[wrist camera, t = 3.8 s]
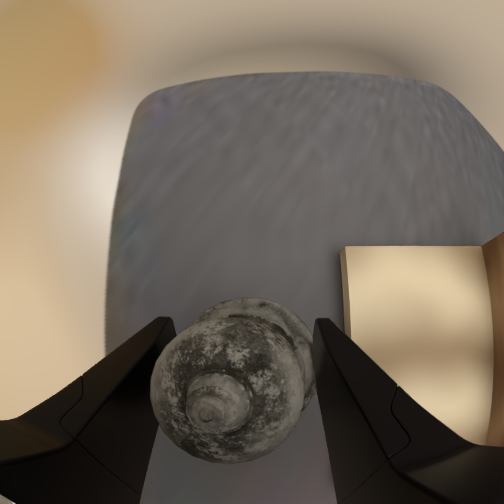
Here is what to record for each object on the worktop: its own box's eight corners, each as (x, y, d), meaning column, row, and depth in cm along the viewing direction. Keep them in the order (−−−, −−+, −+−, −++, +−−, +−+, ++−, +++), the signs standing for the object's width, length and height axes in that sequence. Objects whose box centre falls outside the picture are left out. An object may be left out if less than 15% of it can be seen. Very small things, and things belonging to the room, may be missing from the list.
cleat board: (489, 437, 11) (535, 447, 6) (338, 485, 11) (364, 529, 6) (485, 251, 15) (530, 223, 10) (339, 253, 16) (368, 212, 11)
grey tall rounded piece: (329, 352, 14) (493, 347, 3) (260, 434, 13) (245, 604, 1) (243, 286, 16) (191, 127, 4) (176, 367, 14) (-9, 384, 3)
